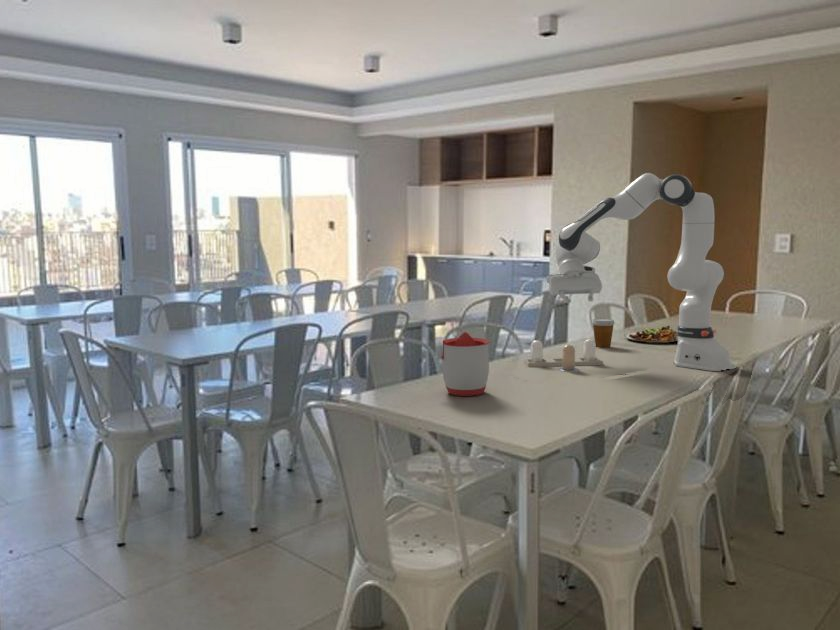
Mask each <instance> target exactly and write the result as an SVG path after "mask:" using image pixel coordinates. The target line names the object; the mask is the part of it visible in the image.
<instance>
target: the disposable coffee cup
mask: <svg viewBox="0 0 840 630" xmlns="http://www.w3.org/2000/svg"><path fill="white" fill-rule="evenodd" d="M591 324H592V325H593V326H592V327H593V336H594V341H595V344H596V348H597V347H600V348H599V349H608V348H611V346H612V345H611V344H612V338H613V331H614V325H615V324H616V323H615V320H614V319H613V318H606V317H603V318H602V317H601V318H599V317H598V318H594V319H592V321H591Z"/></svg>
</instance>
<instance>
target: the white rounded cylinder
mask: <svg viewBox="0 0 840 630" xmlns="http://www.w3.org/2000/svg"><path fill="white" fill-rule="evenodd" d="M596 348H597V347H596V344H595V339H593V338H587V339H586V340H584V342H583V357H582V358H583V361H595V357H596Z"/></svg>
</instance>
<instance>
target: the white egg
mask: <svg viewBox="0 0 840 630" xmlns="http://www.w3.org/2000/svg"><path fill="white" fill-rule="evenodd" d="M543 348H544V346H543V343H542V341H541V340H533V341H532V342H531V344H530V359H531V362H543V359H544V356H543V355H544V349H543Z"/></svg>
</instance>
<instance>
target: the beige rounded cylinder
mask: <svg viewBox="0 0 840 630" xmlns="http://www.w3.org/2000/svg"><path fill="white" fill-rule="evenodd" d="M561 351H562V354H561V355H562V357H561V358H562V366H561V368H562V370H565V371H573V370H575V368H576V366H575V358H576V350H575V347H574V346H573V345H572V344H566V345H564V346H563V348H562V350H561Z"/></svg>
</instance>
